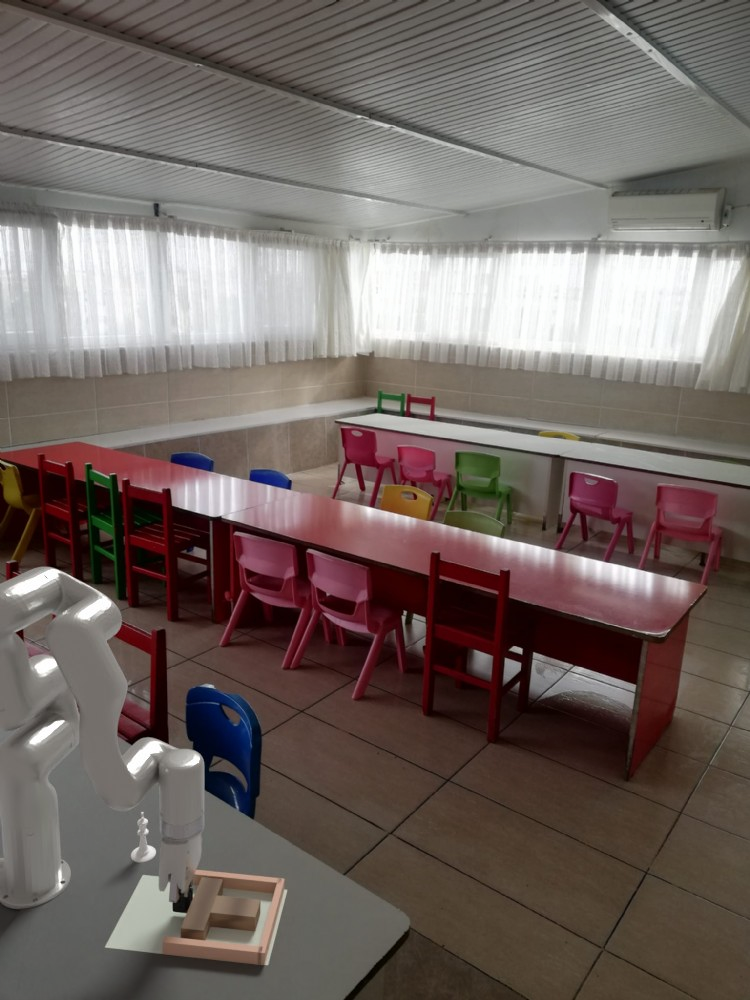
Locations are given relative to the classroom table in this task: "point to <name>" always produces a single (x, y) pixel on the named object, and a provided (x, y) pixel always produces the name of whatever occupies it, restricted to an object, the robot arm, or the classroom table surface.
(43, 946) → the classroom table surface
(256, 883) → the pocket
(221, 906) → the t block
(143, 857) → the chess piece
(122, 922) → the mat
